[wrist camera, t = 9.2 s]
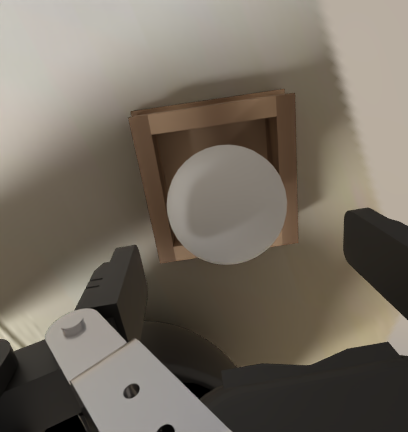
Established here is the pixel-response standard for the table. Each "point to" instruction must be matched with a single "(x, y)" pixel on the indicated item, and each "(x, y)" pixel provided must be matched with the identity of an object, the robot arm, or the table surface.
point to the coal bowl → (175, 362)
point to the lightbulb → (226, 204)
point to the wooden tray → (208, 137)
